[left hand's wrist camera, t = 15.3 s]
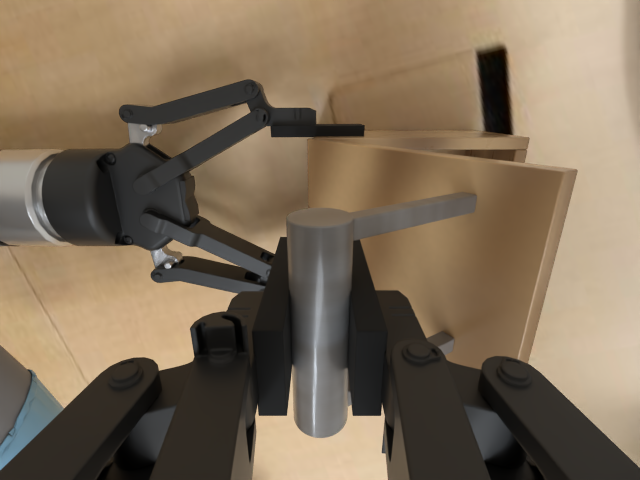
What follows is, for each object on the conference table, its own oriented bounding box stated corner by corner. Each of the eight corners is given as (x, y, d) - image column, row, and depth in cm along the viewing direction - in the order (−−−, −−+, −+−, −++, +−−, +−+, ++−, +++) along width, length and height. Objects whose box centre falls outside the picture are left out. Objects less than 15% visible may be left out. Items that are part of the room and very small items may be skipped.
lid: (578, 169, 11) (361, 208, 6) (517, 404, 14) (348, 531, 10) (318, 138, 23) (185, 144, 18) (319, 267, 26) (206, 298, 22)
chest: (473, 130, 31) (530, 137, 23) (459, 227, 35) (503, 266, 26) (315, 130, 31) (313, 137, 23) (316, 228, 35) (314, 266, 26)
